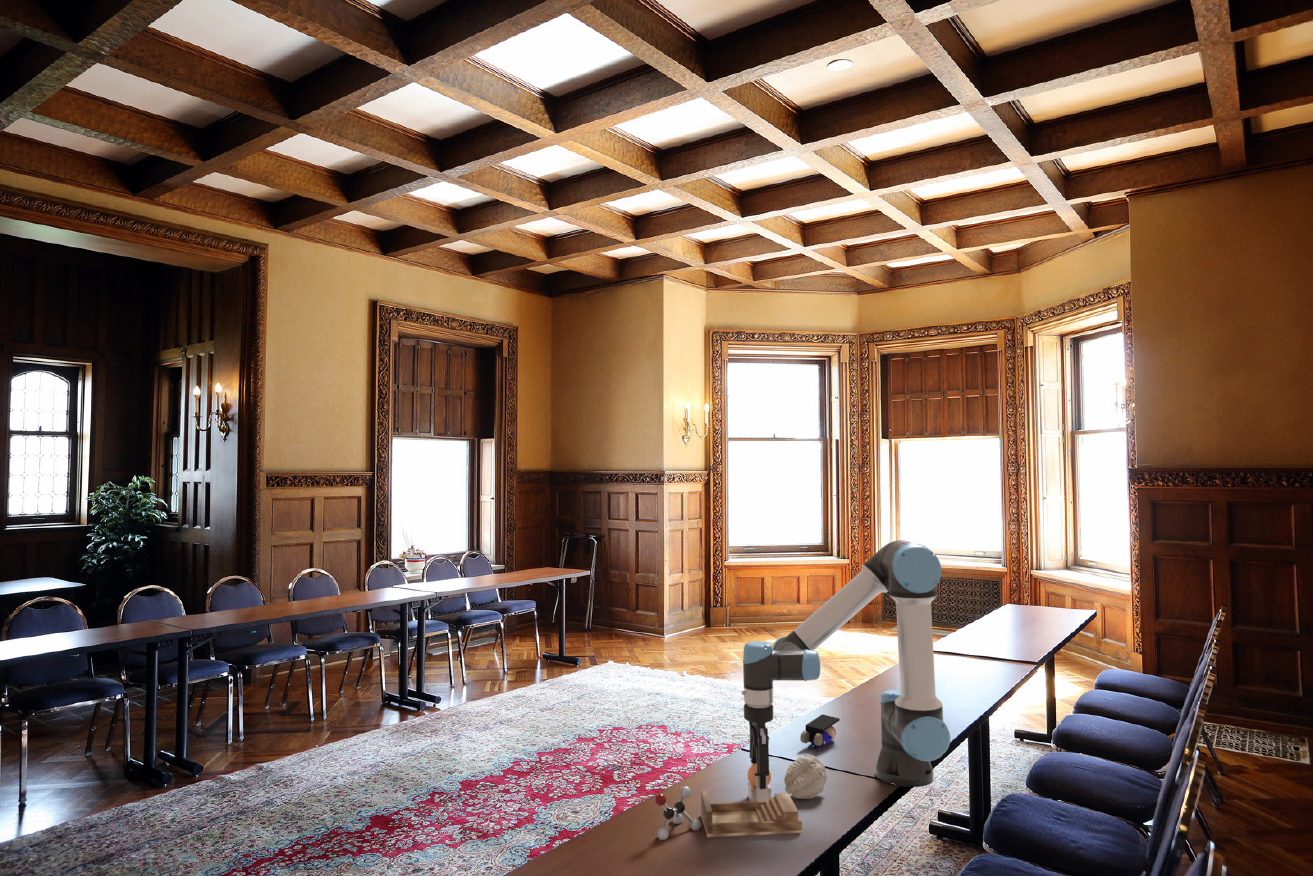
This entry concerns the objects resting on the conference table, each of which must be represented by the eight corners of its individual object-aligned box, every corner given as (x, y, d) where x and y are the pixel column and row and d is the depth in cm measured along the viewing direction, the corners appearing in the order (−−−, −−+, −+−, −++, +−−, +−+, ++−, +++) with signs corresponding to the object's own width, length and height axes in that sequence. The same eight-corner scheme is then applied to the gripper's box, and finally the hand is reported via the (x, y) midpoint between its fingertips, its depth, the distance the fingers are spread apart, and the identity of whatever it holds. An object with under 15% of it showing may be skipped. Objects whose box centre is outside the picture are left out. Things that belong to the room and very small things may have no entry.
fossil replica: (793, 807, 200) (792, 767, 200) (776, 795, 207) (775, 756, 208) (834, 800, 204) (833, 760, 204) (815, 788, 212) (815, 749, 212)
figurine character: (820, 759, 237) (841, 739, 248) (818, 734, 236) (840, 715, 248) (800, 754, 241) (822, 735, 253) (798, 729, 240) (820, 711, 252)
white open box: (767, 796, 207) (767, 781, 207) (771, 804, 202) (771, 789, 202) (748, 797, 206) (748, 782, 206) (751, 805, 201) (751, 790, 201)
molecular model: (703, 830, 188) (702, 784, 188) (671, 849, 179) (670, 800, 179) (676, 820, 193) (675, 775, 193) (643, 838, 184) (643, 791, 184)
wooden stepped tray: (790, 813, 196) (789, 787, 197) (802, 835, 184) (801, 808, 185) (701, 816, 195) (700, 790, 195) (707, 839, 183) (707, 811, 183)
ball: (768, 782, 207) (768, 759, 207) (773, 792, 201) (773, 768, 201) (745, 783, 207) (745, 760, 207) (750, 793, 201) (749, 768, 201)
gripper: (737, 693, 214) (738, 781, 213) (750, 715, 195) (751, 811, 194) (765, 693, 214) (766, 780, 214) (780, 714, 196) (782, 810, 195)
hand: (759, 795), depth 204 cm, fingers closed on ball, 6 cm apart
